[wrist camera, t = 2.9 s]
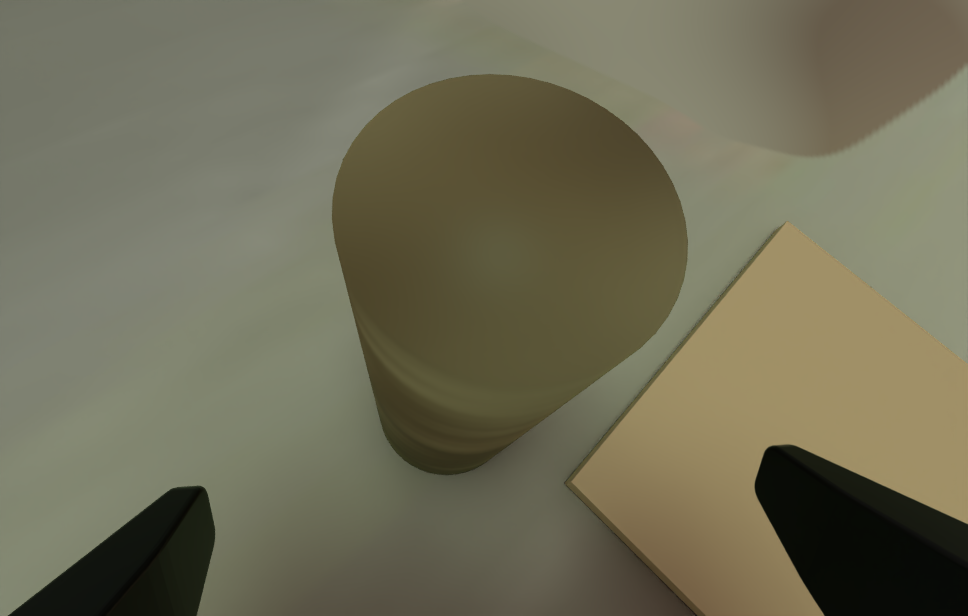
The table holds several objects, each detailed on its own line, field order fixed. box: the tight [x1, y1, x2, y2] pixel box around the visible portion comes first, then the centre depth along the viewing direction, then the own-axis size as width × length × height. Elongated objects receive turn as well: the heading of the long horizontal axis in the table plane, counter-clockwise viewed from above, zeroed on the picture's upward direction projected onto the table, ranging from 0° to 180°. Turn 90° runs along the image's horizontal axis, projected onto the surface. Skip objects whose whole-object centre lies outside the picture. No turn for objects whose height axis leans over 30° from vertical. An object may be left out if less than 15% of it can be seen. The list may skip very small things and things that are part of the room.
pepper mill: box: [332, 74, 688, 475], centre depth 13 cm, size 5×5×13 cm
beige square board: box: [565, 221, 968, 616], centre depth 20 cm, size 16×16×1 cm
